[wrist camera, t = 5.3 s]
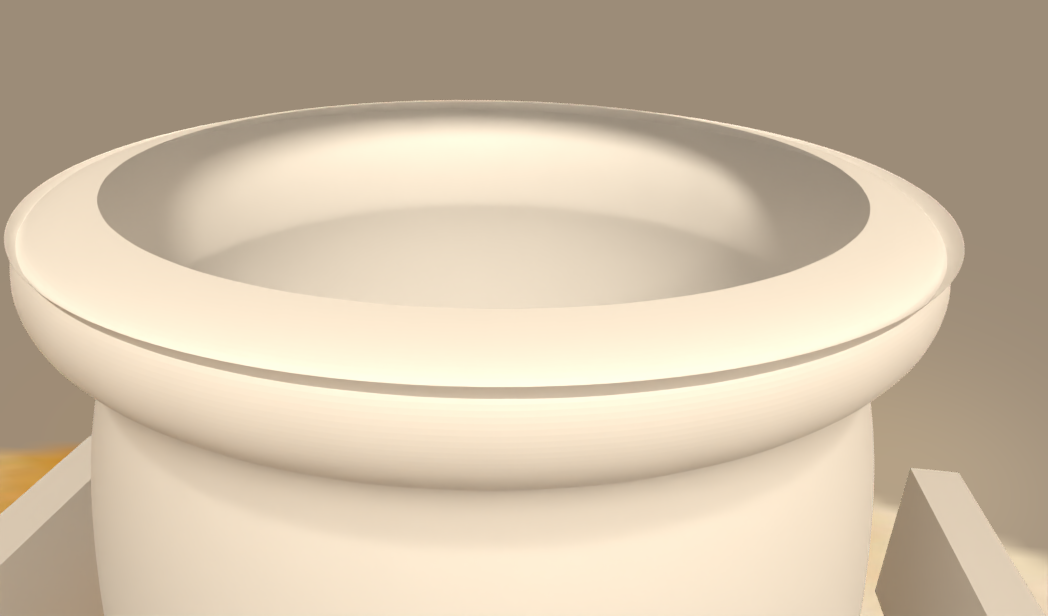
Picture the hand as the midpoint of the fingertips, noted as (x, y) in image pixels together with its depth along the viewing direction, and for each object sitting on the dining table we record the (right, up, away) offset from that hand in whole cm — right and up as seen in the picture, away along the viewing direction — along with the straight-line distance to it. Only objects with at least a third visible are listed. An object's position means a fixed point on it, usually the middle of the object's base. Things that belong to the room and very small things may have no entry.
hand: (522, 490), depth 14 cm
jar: (-1, -9, +2) cm, 9 cm away
